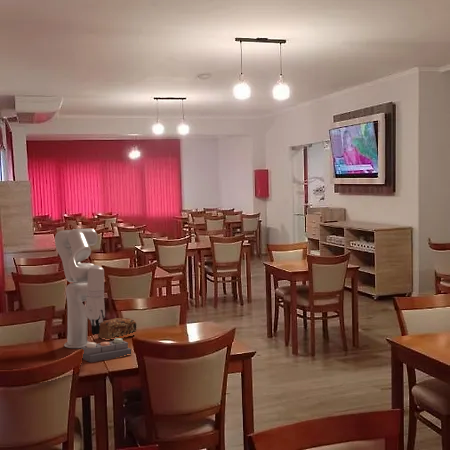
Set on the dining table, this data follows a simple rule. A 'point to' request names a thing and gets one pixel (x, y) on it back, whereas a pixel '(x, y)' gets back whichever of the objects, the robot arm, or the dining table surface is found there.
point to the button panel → (105, 351)
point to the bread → (116, 327)
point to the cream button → (91, 345)
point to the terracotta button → (104, 343)
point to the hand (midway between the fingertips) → (95, 333)
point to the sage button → (118, 340)
